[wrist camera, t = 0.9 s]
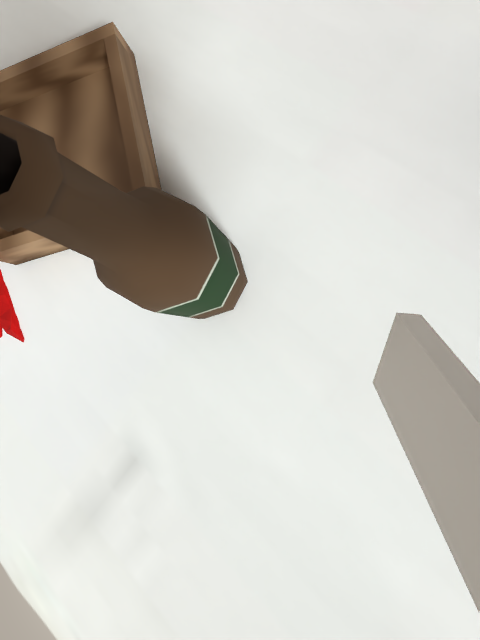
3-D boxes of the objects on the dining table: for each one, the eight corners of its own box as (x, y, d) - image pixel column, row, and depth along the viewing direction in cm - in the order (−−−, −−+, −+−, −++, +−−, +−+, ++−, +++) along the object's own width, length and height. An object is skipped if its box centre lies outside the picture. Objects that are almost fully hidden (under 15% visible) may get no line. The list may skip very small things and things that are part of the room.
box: (134, 54, 38) (112, 21, 34) (167, 218, 36) (149, 204, 32) (-9, 112, 41) (-43, 89, 37) (16, 264, 40) (-17, 257, 36)
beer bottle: (157, 275, 36) (-143, 162, 13) (215, 222, 35) (8, -8, 12) (203, 336, 35) (-33, 336, 11) (266, 283, 34) (148, 163, 10)
